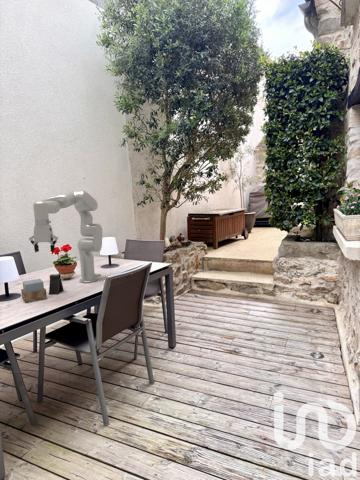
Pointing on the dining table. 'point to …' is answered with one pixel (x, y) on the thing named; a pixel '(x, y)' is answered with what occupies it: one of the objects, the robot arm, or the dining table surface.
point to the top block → (33, 285)
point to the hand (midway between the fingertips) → (44, 251)
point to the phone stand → (55, 284)
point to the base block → (34, 295)
